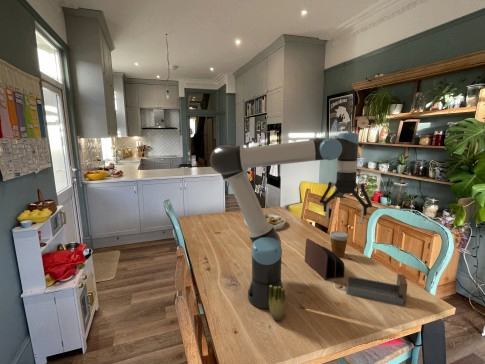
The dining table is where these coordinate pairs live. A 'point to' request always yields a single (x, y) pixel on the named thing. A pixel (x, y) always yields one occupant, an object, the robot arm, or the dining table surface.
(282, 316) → the fennel bulb
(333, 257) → the letter holder
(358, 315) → the dining table surface
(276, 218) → the bowl
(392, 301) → the channel
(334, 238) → the disposable coffee cup
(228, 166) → the robot arm
